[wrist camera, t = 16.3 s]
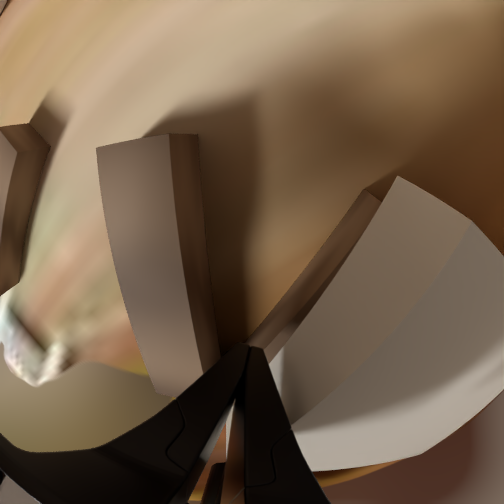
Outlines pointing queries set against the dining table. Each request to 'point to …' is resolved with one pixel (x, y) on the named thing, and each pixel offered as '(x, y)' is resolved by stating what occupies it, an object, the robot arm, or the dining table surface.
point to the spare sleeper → (17, 194)
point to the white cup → (2, 4)
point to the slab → (397, 338)
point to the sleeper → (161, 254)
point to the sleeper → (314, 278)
